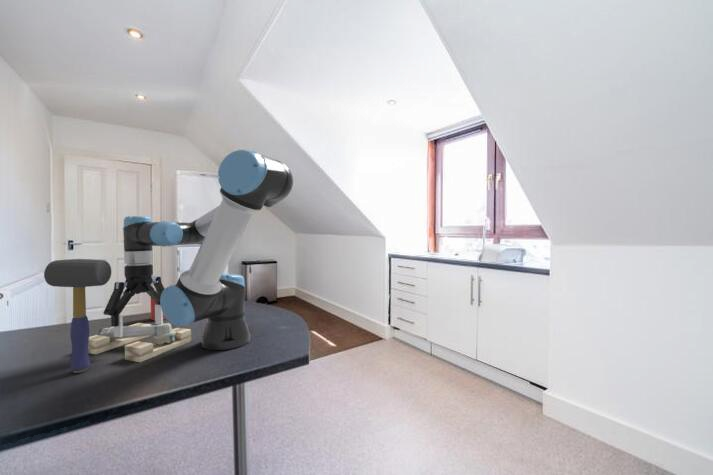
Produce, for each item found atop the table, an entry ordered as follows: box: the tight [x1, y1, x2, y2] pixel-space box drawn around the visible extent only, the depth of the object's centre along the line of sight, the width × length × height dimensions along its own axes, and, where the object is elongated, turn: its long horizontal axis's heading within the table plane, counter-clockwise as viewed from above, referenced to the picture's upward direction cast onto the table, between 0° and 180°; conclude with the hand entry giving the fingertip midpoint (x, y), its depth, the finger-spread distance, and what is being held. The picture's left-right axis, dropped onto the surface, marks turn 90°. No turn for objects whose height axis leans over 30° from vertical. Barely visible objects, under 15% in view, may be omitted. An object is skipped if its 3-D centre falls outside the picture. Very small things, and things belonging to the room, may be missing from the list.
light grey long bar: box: [97, 322, 176, 345], centre depth 101 cm, size 5×7×25 cm
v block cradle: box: [88, 322, 192, 363], centre depth 101 cm, size 24×18×4 cm
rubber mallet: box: [43, 258, 112, 374], centre depth 83 cm, size 12×8×30 cm, turn 98°
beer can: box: [150, 289, 167, 322], centre depth 132 cm, size 7×7×12 cm
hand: (140, 329), depth 101 cm, fingers open, 13 cm apart
